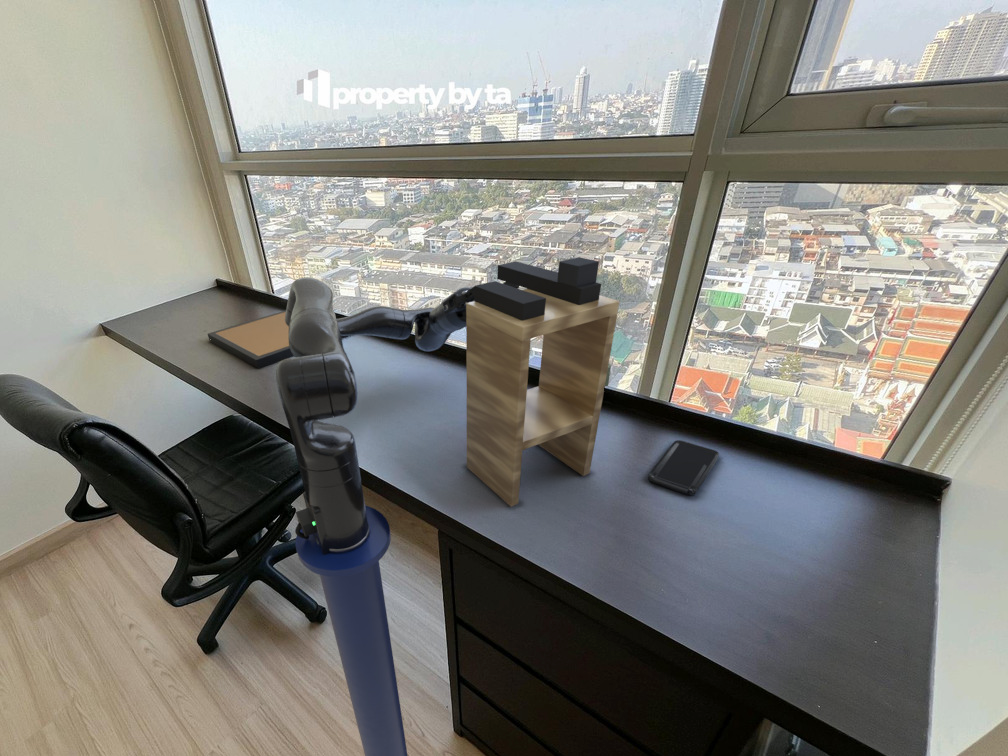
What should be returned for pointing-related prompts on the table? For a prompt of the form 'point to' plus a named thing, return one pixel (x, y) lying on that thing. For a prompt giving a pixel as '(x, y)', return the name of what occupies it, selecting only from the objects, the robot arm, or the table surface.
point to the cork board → (257, 340)
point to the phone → (684, 467)
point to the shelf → (543, 409)
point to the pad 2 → (556, 279)
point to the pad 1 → (510, 300)
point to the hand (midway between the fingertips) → (498, 286)
